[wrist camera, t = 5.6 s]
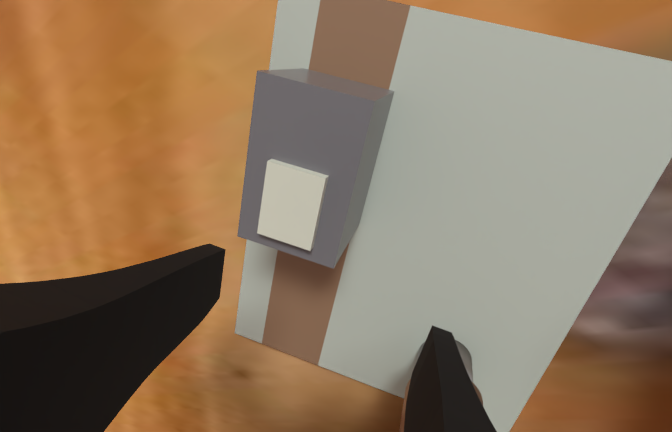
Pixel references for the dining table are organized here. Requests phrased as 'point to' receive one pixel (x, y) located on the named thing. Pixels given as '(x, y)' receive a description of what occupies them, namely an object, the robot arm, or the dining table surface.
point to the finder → (310, 161)
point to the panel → (464, 195)
